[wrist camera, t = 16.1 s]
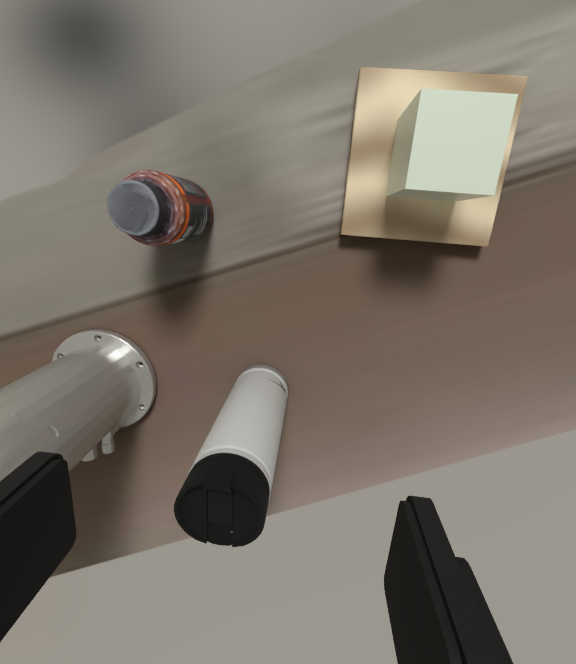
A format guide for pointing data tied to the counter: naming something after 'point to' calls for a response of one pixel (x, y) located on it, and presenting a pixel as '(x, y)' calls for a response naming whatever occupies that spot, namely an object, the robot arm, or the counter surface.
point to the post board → (376, 154)
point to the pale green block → (450, 145)
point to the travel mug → (236, 463)
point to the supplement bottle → (159, 208)
